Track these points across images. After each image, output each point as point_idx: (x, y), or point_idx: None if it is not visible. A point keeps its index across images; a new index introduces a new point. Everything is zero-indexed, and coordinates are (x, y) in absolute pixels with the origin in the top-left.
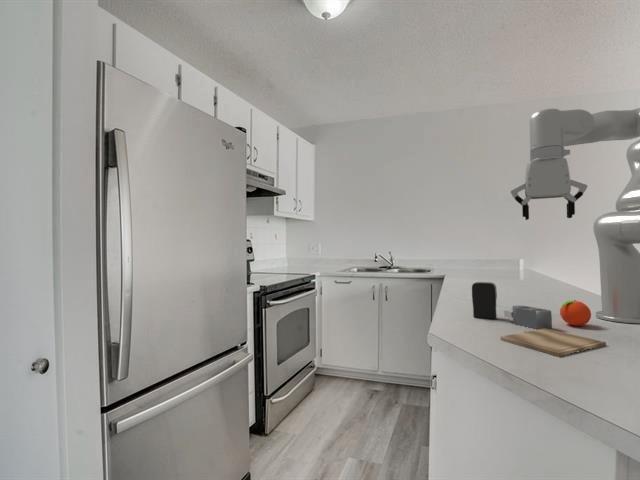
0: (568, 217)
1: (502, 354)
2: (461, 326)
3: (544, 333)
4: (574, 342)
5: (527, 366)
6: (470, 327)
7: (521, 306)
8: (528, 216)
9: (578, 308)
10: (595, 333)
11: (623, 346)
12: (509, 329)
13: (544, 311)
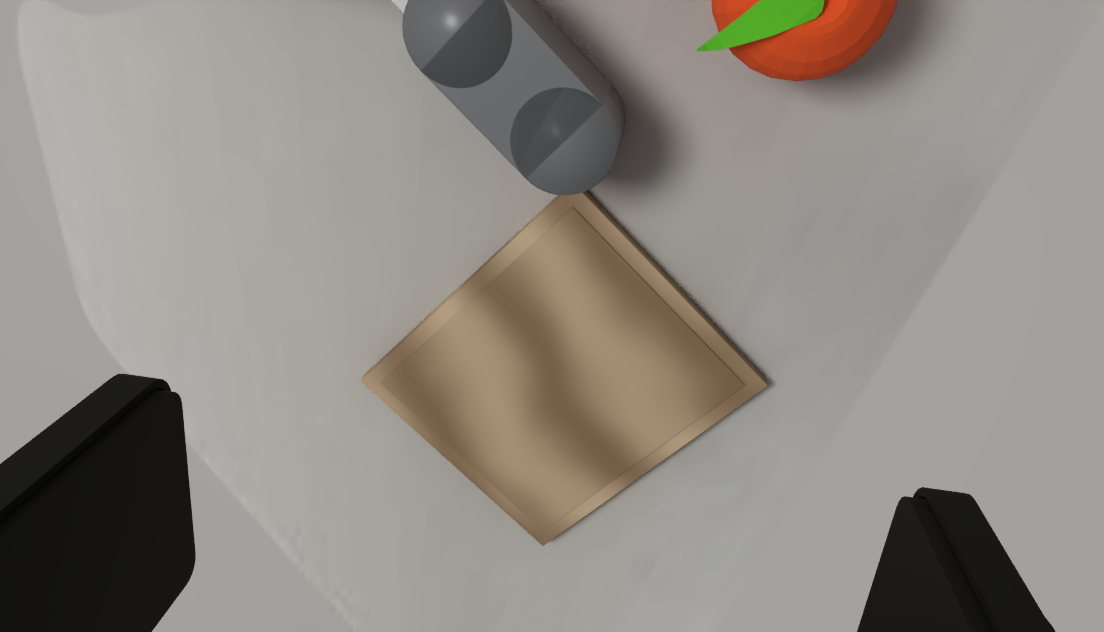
0: (890, 572)
1: (371, 539)
2: (171, 159)
3: (549, 301)
4: (635, 421)
5: (437, 624)
6: (218, 172)
7: (460, 6)
8: (166, 596)
9: (802, 72)
10: (820, 166)
11: (832, 374)
12: (407, 173)
13: (574, 171)
